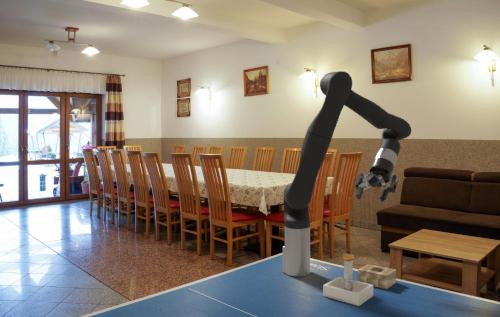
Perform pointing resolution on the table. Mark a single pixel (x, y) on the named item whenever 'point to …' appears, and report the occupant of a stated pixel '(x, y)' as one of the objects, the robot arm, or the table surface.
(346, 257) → the lock pin
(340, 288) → the tray
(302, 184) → the robot arm
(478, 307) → the table surface
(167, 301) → the table surface
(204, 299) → the table surface
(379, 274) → the block
